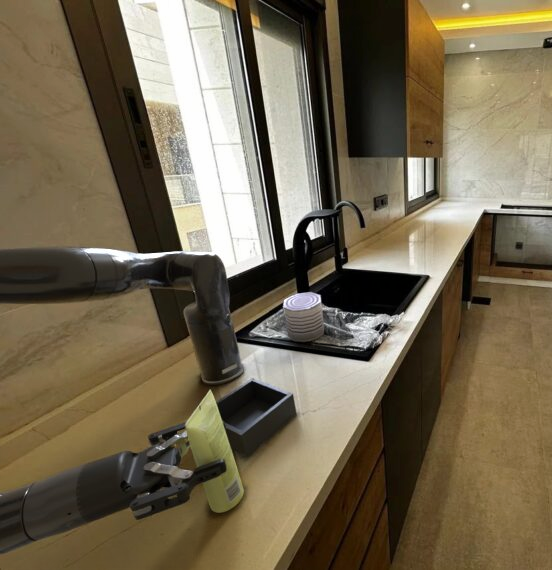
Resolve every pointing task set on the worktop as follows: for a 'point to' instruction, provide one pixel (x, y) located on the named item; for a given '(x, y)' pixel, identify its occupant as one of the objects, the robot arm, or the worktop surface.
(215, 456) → the tube
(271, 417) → the tub
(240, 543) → the worktop surface
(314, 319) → the can
